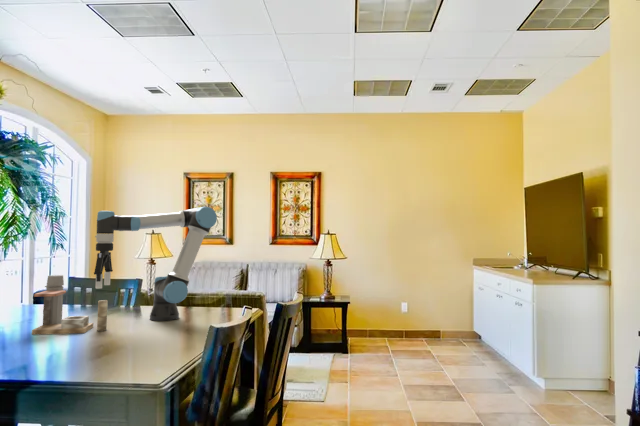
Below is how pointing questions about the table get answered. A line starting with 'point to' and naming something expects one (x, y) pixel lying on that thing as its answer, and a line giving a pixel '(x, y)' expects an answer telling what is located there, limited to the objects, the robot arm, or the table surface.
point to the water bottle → (55, 298)
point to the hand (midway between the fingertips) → (103, 286)
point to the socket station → (68, 324)
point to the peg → (102, 315)
